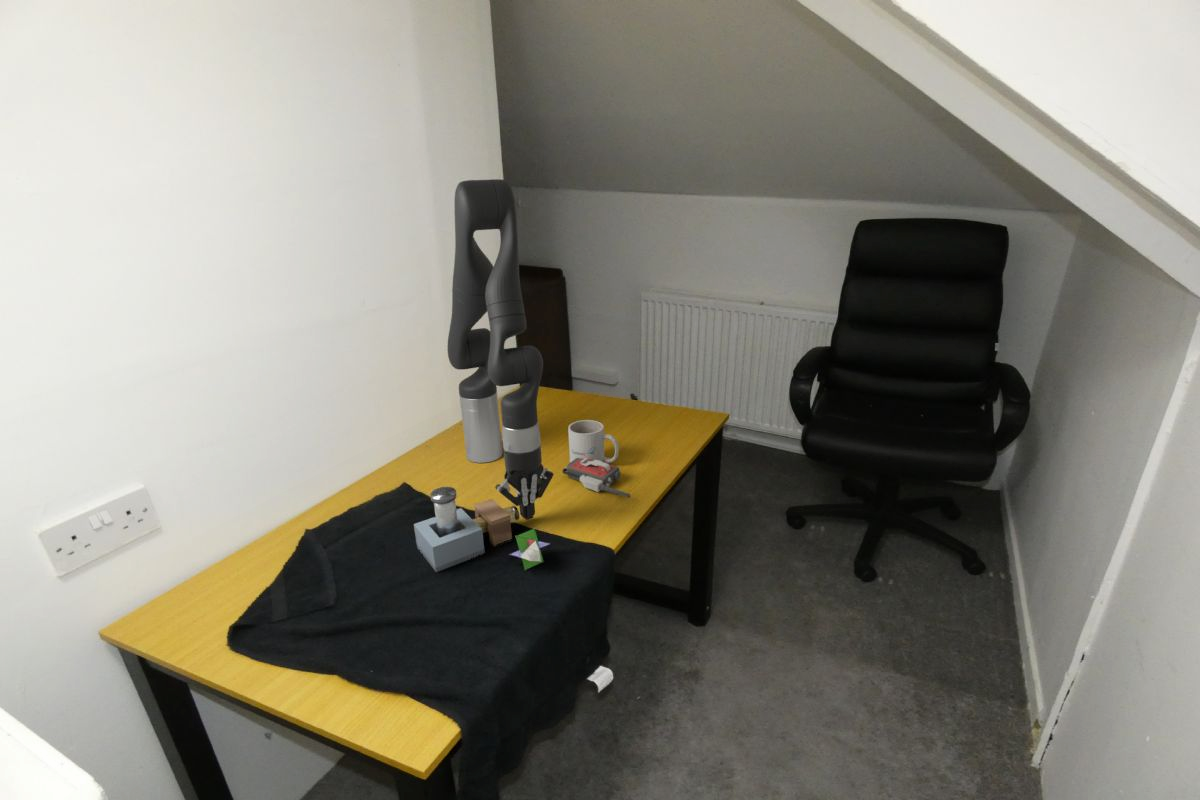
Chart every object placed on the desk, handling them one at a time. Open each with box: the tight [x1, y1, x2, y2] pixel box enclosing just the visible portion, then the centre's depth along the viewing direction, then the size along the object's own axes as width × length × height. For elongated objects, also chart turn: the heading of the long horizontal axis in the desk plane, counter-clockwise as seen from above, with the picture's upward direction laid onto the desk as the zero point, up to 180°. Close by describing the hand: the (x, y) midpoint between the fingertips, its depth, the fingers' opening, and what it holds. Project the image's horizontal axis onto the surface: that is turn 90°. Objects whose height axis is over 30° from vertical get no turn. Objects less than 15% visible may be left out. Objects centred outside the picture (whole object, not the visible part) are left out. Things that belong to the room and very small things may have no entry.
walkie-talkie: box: [561, 458, 631, 498], centre depth 152 cm, size 9×4×20 cm
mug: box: [567, 419, 620, 464], centre depth 160 cm, size 12×9×10 cm
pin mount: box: [473, 498, 513, 547], centre depth 134 cm, size 8×4×6 cm, turn 35°
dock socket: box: [413, 507, 486, 573], centre depth 129 cm, size 10×10×6 cm
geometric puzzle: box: [508, 527, 551, 571], centre depth 124 cm, size 7×7×8 cm
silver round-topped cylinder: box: [430, 486, 459, 538], centre depth 127 cm, size 5×5×12 cm
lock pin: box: [460, 505, 520, 534], centre depth 133 cm, size 3×12×3 cm, turn 125°
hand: (527, 517), depth 138 cm, fingers closed
